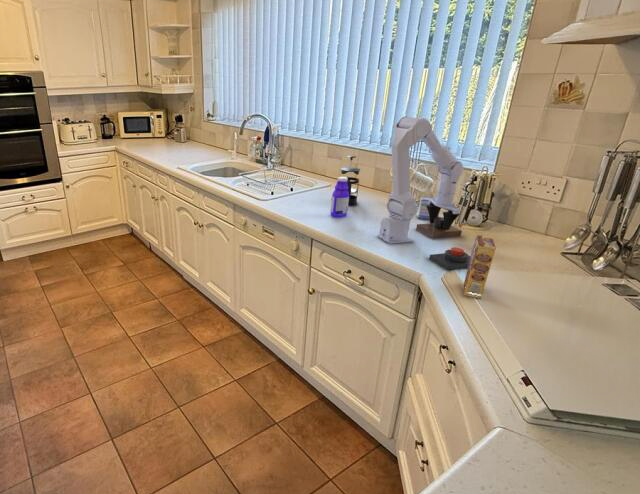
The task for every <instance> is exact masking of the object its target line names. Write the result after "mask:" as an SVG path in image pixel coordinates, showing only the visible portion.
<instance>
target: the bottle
mask: <svg viewBox="0 0 640 494" xmlns="http://www.w3.org/2000/svg"><path fill="white" fill-rule="evenodd" d="M347 177H348V176H338V177H337V181H336V185H334V190H333V192H332V194H331V203H330V212H329V213H330V216H331V217H333V218H336V219H337V218H339V219H340V218H345V217H347V215H348V208H349V206H348V202H349V192H348V189H349V187H348V185H347V180H348V178H347Z"/></svg>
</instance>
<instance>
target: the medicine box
mask: <svg viewBox="0 0 640 494" xmlns="http://www.w3.org/2000/svg"><path fill="white" fill-rule="evenodd" d="M419 198H420V199H419V205H418V209H417V214H416V215H417V219H420V220H428V221H430V219H429V212H428V209H427V207H426V206H427V205H430V204H429V203H428V201H429V198H430V197H423V196H421V197H419ZM433 198H434V199H436V197H433ZM440 211H441V210H440ZM440 211H439V214H438V217H440Z"/></svg>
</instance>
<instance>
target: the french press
mask: <svg viewBox="0 0 640 494" xmlns="http://www.w3.org/2000/svg"><path fill="white" fill-rule="evenodd" d="M346 158H349V159H350V166H346V167H345V166H344V167H340V173H341V175H346V174H347V173H349V176H346V177H347V178H348V180H347V185H348V187H349V189H348V192H349V202H348V207H354V206H356V205H358V202H357V201H358V193H359V185H360V178H358V177H352V176H351V173H354V174H355V175H356V176H358V175H359V174H360V171H361V168H358V167H355V166H354V167H353V166H352V162H353V159H357V156H355V155H347V156H346ZM356 184H357V188H356V189H354V188H352V185H356ZM354 194H356V195H354Z"/></svg>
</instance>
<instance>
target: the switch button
mask: <svg viewBox="0 0 640 494" xmlns="http://www.w3.org/2000/svg"><path fill="white" fill-rule="evenodd" d="M450 250H451V252H450V254H452V255H455V256H463V253H464V252H465V250H464V249H463V248H461V247H455V246H454V247H453V246H452V247H451V248H450Z"/></svg>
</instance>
